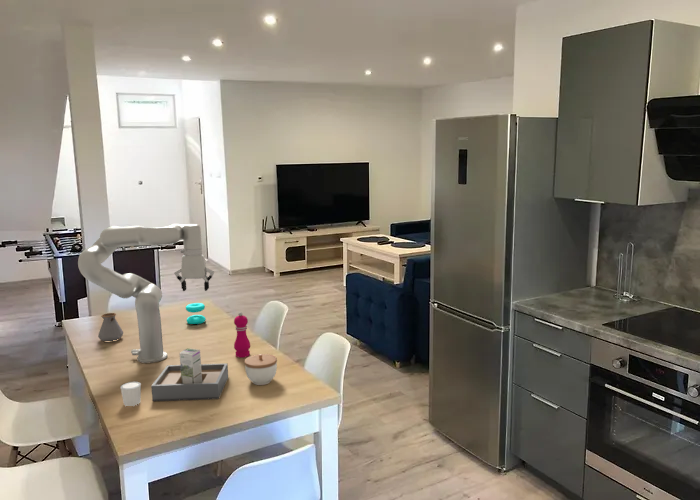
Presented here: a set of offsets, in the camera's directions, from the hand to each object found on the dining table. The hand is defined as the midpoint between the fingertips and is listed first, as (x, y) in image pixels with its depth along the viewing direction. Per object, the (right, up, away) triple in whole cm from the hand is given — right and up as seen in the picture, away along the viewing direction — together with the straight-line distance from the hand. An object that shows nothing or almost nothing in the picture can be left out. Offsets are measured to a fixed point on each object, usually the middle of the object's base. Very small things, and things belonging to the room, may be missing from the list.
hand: (195, 290), depth 242 cm
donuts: (-15, -22, +54) cm, 60 cm away
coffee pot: (-47, -27, +24) cm, 59 cm away
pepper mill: (+20, -30, +3) cm, 36 cm away
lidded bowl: (+34, -34, -26) cm, 55 cm away
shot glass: (-11, -38, -43) cm, 59 cm away
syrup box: (+8, -35, -32) cm, 48 cm away
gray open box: (+8, -36, -32) cm, 48 cm away
